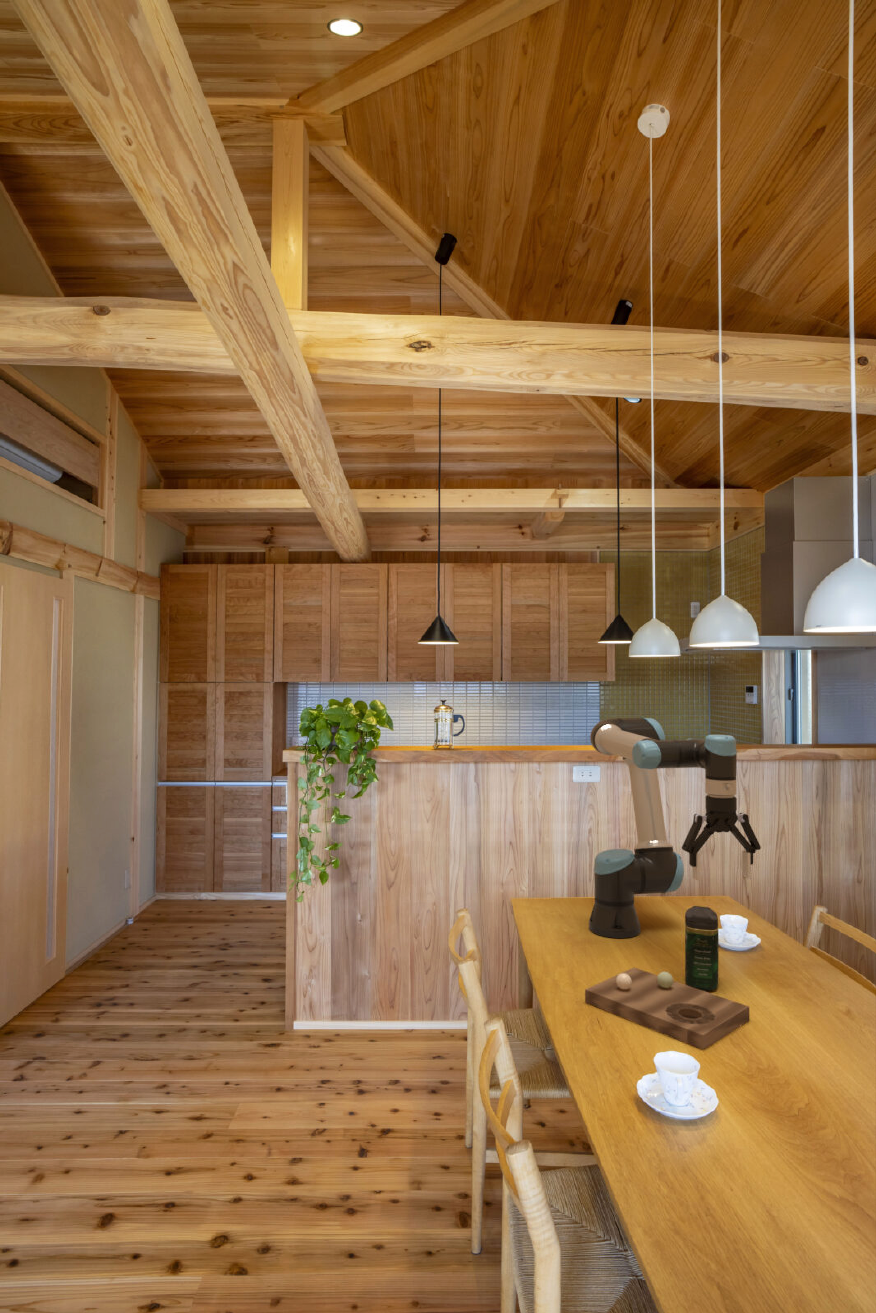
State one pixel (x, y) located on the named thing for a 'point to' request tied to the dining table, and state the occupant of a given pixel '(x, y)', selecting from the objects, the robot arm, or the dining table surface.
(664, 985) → the sage ball
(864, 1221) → the dining table surface
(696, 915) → the coffee jar
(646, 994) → the board
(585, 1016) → the dining table surface
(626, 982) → the cream ball
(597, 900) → the robot arm
